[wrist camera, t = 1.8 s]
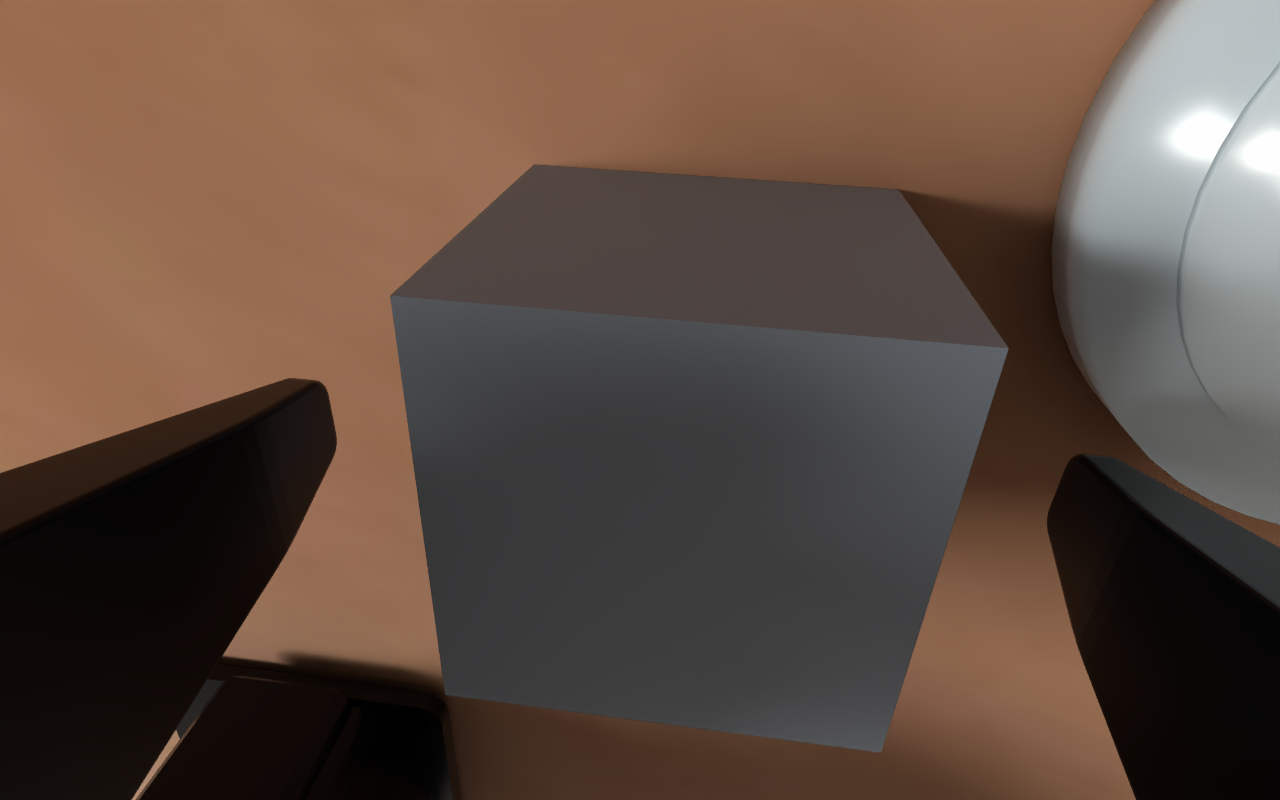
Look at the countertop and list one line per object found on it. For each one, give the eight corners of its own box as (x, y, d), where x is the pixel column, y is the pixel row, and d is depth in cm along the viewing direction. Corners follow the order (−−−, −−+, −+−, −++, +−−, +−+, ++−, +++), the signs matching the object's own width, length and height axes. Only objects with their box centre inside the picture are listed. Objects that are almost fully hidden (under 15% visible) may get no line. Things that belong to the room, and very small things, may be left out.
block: (835, 485, 13) (881, 752, 8) (544, 456, 13) (445, 695, 9) (897, 187, 10) (1008, 348, 6) (535, 163, 11) (389, 295, 6)
